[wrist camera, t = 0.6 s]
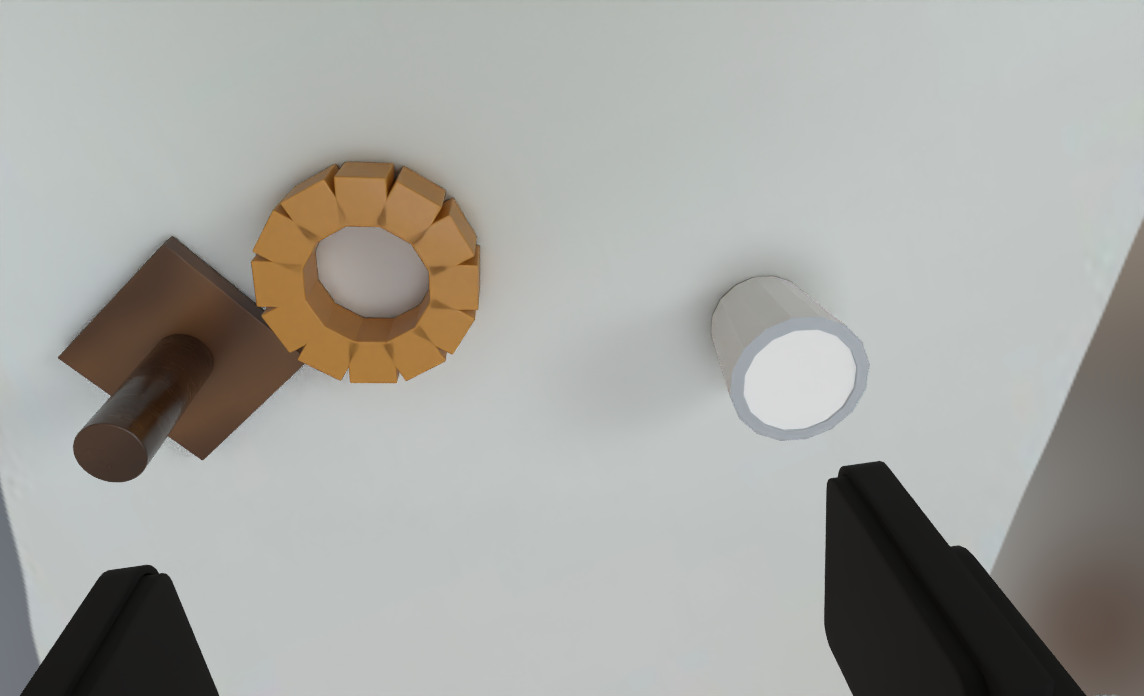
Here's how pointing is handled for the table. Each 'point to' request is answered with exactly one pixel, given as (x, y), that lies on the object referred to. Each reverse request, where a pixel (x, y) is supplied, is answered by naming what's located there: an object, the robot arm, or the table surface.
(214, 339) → the post
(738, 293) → the grey cylinder
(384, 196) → the ring
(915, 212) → the table surface
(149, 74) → the table surface
